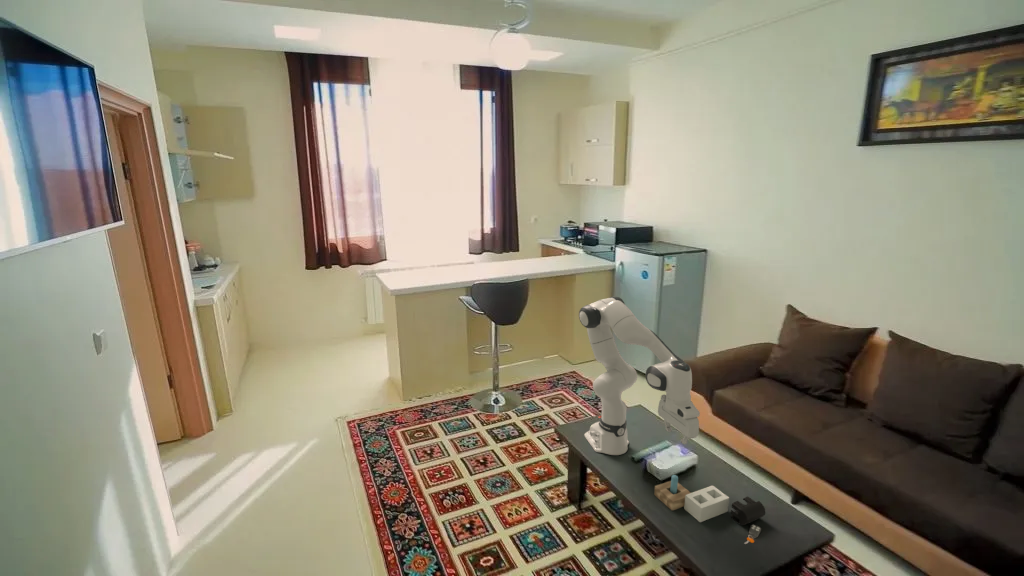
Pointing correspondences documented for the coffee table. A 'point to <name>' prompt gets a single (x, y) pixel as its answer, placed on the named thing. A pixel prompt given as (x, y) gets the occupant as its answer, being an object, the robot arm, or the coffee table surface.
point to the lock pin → (674, 484)
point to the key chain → (753, 533)
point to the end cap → (747, 511)
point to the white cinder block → (706, 503)
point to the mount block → (671, 495)
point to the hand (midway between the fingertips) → (676, 437)
